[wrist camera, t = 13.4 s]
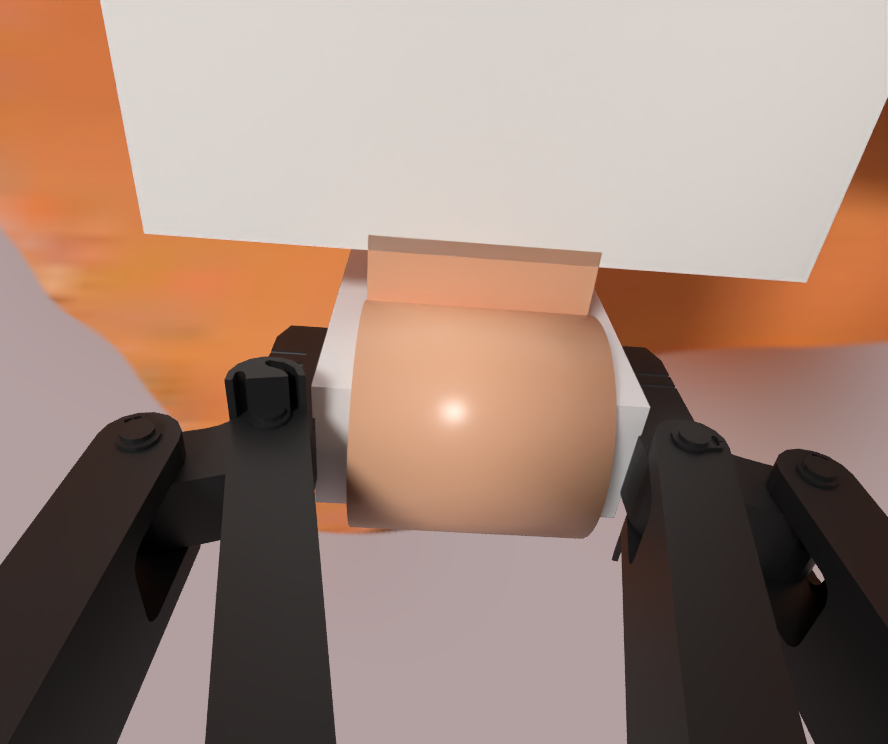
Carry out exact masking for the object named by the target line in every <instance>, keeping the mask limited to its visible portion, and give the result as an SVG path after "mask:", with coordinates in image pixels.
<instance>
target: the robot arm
mask: <svg viewBox="0 0 888 744" xmlns="http://www.w3.org/2000/svg"><path fill="white" fill-rule="evenodd" d="M367 269H368V250H359V249H351V252H350V255H349V258H348V262H347V265H346V269H345V272H344V276H343V279H342V282H341V286H340V289H339V293H338V296H337V300H336V303H335V306H334V310H333V313H332V317H331V320H330V324H329V327H328V328H321V327H306V326H290V327H289V328H288V329H286V330H285V331H284V332H283V333H281V334H280V335H279V336H277V338H276V341H275V343H274V345H273V348H272V350H271V353H270V355H269V357H260V358H253V359H249V360H247V361H244V362H242V363H239V364H237V365H236V366H235V367H233V368H232V369H231V370H229V371H228V373H227V376H226V378H225V388H226V395H227V403H228V410H229V418H230V421H229V422H226V423H224V424H221V425H219V426H214V427H210V428H205V429H199V430H192V431H185V432H182V430H181V427H180V425H179V423H178V421H176V420H175V419H173V418H172V417H170V416H169V415H165V414H160V413H155V412H152V413H151V412H150V413H137V414H133V415H129V416H125V417H122V418H120V419H118V420H116V421H114V422H112V423H110V424H108V425H107V426H106V427H104V428H103V429H102V430H101V431H100V432H99V433H98V434H97V435H96V437H95V438H94V439H93V441H92V442H91V443H90V445H89V446H88V448H87V449H86V450H85V452H84V453H83V454H82V456H81V457H80V458H79V460H78V461H77V462H76V464H75V465H74V466H73V468H72V469H71V470H70V472H69V473H68V475H67V476H66V477H65V479H64V480H63V481H62V483H61V484H60V485H59V487H58V488H57V489H56V491H55V492H54V493H53V495H52V496H51V497H50V499H49V500H48V502H47V503H46V504H45V506H44V507H43V508H42V510H41V511H40V512H39V514H38V515H37V516H36V518H35V519H34V521H33V522H32V523H31V524H30V526H29V527H28V529H27V530H26V531H25V533H24V534H23V535H22V537H21V538H20V539H19V541H18V542H17V544H16V545H15V546H14V547H13V549H12V550H11V552H10V553H9V554H8V556H7V557H6V559H5V560H4V561H3V562H2V564H1V565H0V744H117V742H118V739H119V737H120V735H121V732H122V730H123V728H124V725H125V723H126V721H127V718H128V716H129V714H130V711H131V709H132V707H133V704H134V702H135V700H136V697H137V695H138V692H139V690H140V688H141V685H142V683H143V681H144V678H145V676H146V674H147V671H148V669H149V666H150V664H151V662H152V660H153V657H154V655H155V652H156V650H157V648H158V645H159V643H160V641H161V638H162V636H163V634H164V631H165V629H166V627H167V624H168V622H169V620H170V617H171V615H172V612H173V610H174V608H175V606H176V603H177V601H178V599H179V596H180V594H181V591H182V589H183V586H184V584H185V582H186V580H187V577H188V575H189V573H190V570H191V568H192V566H193V563H194V561H195V559H196V556H197V554H198V551H199V549H200V545H201V544H204V543H209V542H213V541H218V540H220V555H219V567H218V580H217V593H216V606H215V621H214V633H213V647H212V659H211V673H210V687H209V699H208V711H207V725H206V738H205V744H336V736H335V725H334V713H333V703H332V702H333V701H332V690H331V678H330V667H329V655H328V645H327V632H326V621H325V609H324V597H323V586H322V575H321V562H320V551H319V539H318V528H317V516H316V504H315V493H314V490H315V492H316V502H326V503H345V504H347V497H346V478H347V447H348V428H349V412H350V399H351V387H352V376H353V367H354V357H355V349H356V341H357V334H358V327H359V321H360V316H361V311H362V307H363V304H364V302H365V300H367ZM588 315H589V316H594V317H595V318H597V319H598V321H599V322H600V323H601V325H602V327H603V328H604V330H605V333H606V336H607V338H608V342H609V346H610V349H611V354H612V360H613V366H614V374H615V386H616V438H615V450H614V460H613V467H612V473H611V479H610V484H609V489H608V493H607V497H606V501H605V504H604V507H603V510H602V513H601V516H600V517H611V518H614V516H615V513H616V510H617V507H618V504H619V501H620V498H621V497H622V500H623V503H624V506H625V509H626V512H627V516H626V518H625V522H624V524H623V527H622V530H621V533H620V536H619V539H618V541H617V545H616V547H615V550H614V554H613V557H612V560H613V561H618V558H619V555H620V553H621V552H622V582H623V583H622V585H623V618H624V650H625V683H626V684H625V686H626V720H627V744H807V741H806V738H805V734H804V730H803V726H802V722H801V718H800V714H801V717H802V719H803V721H804V723H805V725H806V726H807V729H808V731H809V733H810V735H811V737H812V739H813V741H814V743H815V744H888V517H887V516H886V514H885V513H884V512H883V511H882V509H881V508H880V507H879V506H878V505H877V504H876V502H875V501H874V500H873V498H872V497H871V496H870V495H869V494H868V493H867V491H866V490H865V489H864V488H863V486H862V485H861V484H860V483H859V481H858V480H857V479H856V478H855V477H854V475H853V474H852V473H850V472H849V471H848V470H847V469H846V468H845V467H844V466H843V465H841V464H839V463H838V462H836V461H834V460H833V459H831V458H830V457H828V456H826V455H823V454H820V453H817V452H814V451H808V450H803V449H792V450H786V451H784V452H783V453H781V454H779V455H778V458H777V460H776V462H775V464H774V466H771V465H767V464H763V463H760V462H756V461H752V460H749V459H745V458H742V457H739V456H735V455H733V454H731V452H730V448H729V446H728V444H727V443H726V441H725V439H724V438H723V437H722V436H720V435H719V434H718V433H717V432H716V431H714V430H712V429H711V428H709V427H707V426H705V425H703V424H701V423H697V422H694V420H693V418H692V416H691V414H690V413H689V411H688V409H687V407H686V405H685V403H684V402H683V400H682V398H681V396H680V394H679V392H678V391H677V389H675V385H674V383H673V381H672V380H671V378H670V377H668V376H669V374H668V372H667V371H666V369H665V367H664V365H663V363H662V361H661V360H660V359H659V358H657V357H656V356H655V355H654V354H652V353H651V352H650V351H649V350H648V349H646V348H642V347H627V346H621V344H620V342H619V340H618V337H617V335H616V333H615V331H614V329H613V327H612V325H611V322H610V320H609V318H608V316H607V314H606V312H605V310H604V307H603V305H602V303H601V301H600V299H599V297H598V295H597V292H596V290H595V288H594V290H593V294H592V298H591V302H590V307H589V311H588ZM815 564H816V565H817V566H818V568H819V569H820V571H821V573H822V574H823V576H824V579H825V580H824V581H823V582H822V583H821V582H820V580H819V579H818V578H817V577H816V575H815V573H814V572H813V570H812V569H813V567H814V565H815ZM798 710H799V711H798ZM799 713H800V714H799Z"/></svg>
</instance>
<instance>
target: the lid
mask: <svg viewBox="0 0 888 744" xmlns="http://www.w3.org/2000/svg"><path fill="white" fill-rule="evenodd" d="M100 2H101V7H102V13H103V18H104V23H105V28H106V34H107V39H108V44H109V50H110V55H111V60H112V65H113V71H114V76H115V81H116V87H117V92H118V97H119V103H120V108H121V113H122V118H123V124H124V129H125V134H126V140H127V145H128V150H129V155H130V161H131V166H132V171H133V177H134V182H135V187H136V193H137V198H138V203H139V208H140V214H141V219H142V224H143V230H144V234H157V235H170V236H184V237H197V238H211V239H224V240H238V241H251V242H265V243H278V244H292V245H305V246H319V247H332V248H346V249H359V250H368V269H367V300H365V302H364V304H363V307H362V311H361V316H360V321H359V327H358V334H357V341H356V349H355V357H354V367H353V376H352V387H351V399H350V412H349V428H348V447H347V478H346V497H347V517H348V524H349V526H350V527H363V528H383V529H402V530H422V531H443V532H462V533H481V534H502V535H521V536H542V537H560V538H585V537H587V536H588V535H589V534H590V533H591V532H592V531H593V529H594V528H595V526H596V524H597V522H598V520H599V518H600V516H601V513H602V510H603V507H604V504H605V501H606V497H607V493H608V489H609V484H610V479H611V473H612V467H613V460H614V450H615V438H616V386H615V374H614V366H613V360H612V354H611V349H610V346H609V342H608V338H607V336H606V333H605V330H604V328H603V327H602V325H601V323H600V322H599V321H598V319H597V318H595V317H594V316H589V315H588V311H589V307H590V302H591V298H592V294H593V290H594V285H595V281H596V277H597V273H598V269H599V267H603V268H616V269H630V270H643V271H657V272H670V273H684V274H698V275H711V276H725V277H738V278H752V279H765V280H779V281H792V282H807V280H808V277H809V275H810V273H811V270H812V268H813V266H814V264H815V261H816V259H817V257H818V255H819V252H820V250H821V248H822V245H823V243H824V241H825V239H826V236H827V234H828V232H829V230H830V227H831V225H832V223H833V220H834V218H835V216H836V214H837V211H838V209H839V207H840V205H841V202H842V200H843V198H844V195H845V193H846V191H847V189H848V186H849V184H850V182H851V179H852V177H853V175H854V173H855V170H856V168H857V166H858V164H859V161H860V159H861V157H862V154H863V152H864V150H865V148H866V145H867V143H868V141H869V139H870V136H871V134H872V132H873V129H874V127H875V125H876V123H877V120H878V118H879V116H880V113H881V111H882V109H883V107H884V104H885V102H886V100H887V98H888V0H100Z"/></svg>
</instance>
